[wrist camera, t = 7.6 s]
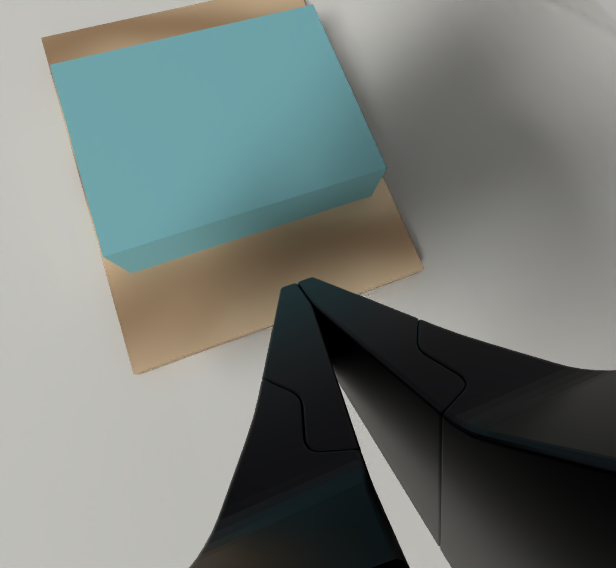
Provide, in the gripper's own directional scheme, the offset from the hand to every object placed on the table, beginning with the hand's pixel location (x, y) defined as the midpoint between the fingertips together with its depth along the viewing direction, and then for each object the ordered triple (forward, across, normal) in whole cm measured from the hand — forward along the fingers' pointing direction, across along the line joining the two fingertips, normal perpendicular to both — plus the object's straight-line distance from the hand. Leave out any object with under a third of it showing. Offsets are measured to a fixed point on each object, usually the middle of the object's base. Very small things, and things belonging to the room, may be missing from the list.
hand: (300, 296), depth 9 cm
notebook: (+8, 0, +1) cm, 8 cm away
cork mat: (+12, 0, -1) cm, 12 cm away
